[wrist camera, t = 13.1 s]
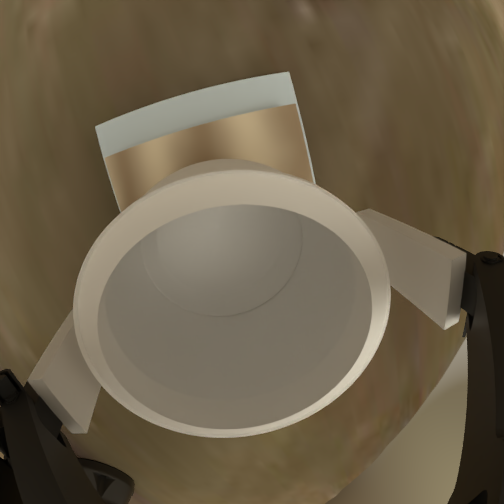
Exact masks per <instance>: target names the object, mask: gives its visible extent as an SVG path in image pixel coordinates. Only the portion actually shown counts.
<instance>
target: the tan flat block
mask: <svg viewBox="0 0 504 504" xmlns="http://www.w3.org/2000/svg"><path fill="white" fill-rule="evenodd" d="M215 159H241V160H248V161H253V162H257V163H261V164H264V165H267V166H270V167H272V168H275V169H277V170H279V171H281V172H283V173H287V174H290V175H293V176H296V177H299V178H302V179H304V180H307V181H309V182H312V183H314V182H313V177H312V173H311V168H310V163H309V158H308V154H307V149H306V145H305V141H304V136H303V132H302V128H301V124H300V119H299V115H298V111H297V107H296V104H290V105H284V106H279V107H274V108H269V109H264V110H259V111H254V112H250V113H245V114H241V115H236V116H232V117H228V118H224V119H220V120H216V121H213V122H209V123H205V124H202V125H198V126H195V127H191V128H188V129H184V130H181V131H178V132H175V133H172V134H168V135H165V136H162V137H159V138H156V139H153V140H150V141H148V142H145V143H142V144H139V145H136V146H134V147H131V148H128V149H126V150H123V151H120V152H118V153H115V154H113V155H110V156H108V157H105V162H106V165H107V169H108V172H109V176H110V179H111V182H112V185H113V189H114V192H115V195H116V198H117V201H118V204H119V207H120V210H121V212H123V211H124V210H125V209H126V208H127V207H128V206H130V205H131V204H132V203H133V202H135V201H136V200H138V199H139V198H141V197H142V196H144V195H145V194H146V193H147V192H148V191H149V190H150V189H151V188H152V187H153V186H155V185H156V184H157V183H158V182H160V181H161V180H163V179H164V178H165V177H167V176H169V175H170V174H172V173H174V172H176V171H178V170H180V169H182V168H184V167H187V166H190V165H192V164H196V163H199V162H203V161H208V160H215Z"/></svg>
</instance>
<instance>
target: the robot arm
mask: <svg viewBox="0 0 504 504" xmlns="http://www.w3.org/2000/svg"><path fill="white" fill-rule="evenodd" d="M356 213H357V215H358V216H359V217H360V218H361V219H362V220H363V221H364V223H365V224H366V225H367V226H368V228H369V229H370V231H371V232H372V233H373V235H374V237H375V238H376V240H377V242H378V244H379V246H380V248H381V250H382V253H383V255H384V258H385V261H386V264H387V268H388V273H389V279H390V285H391V286H392V287H393V288H395V289H396V290H397V291H398V292H400V293H401V294H402V295H403V296H405V297H406V298H407V299H408V300H409V301H411V302H412V303H413V304H414V305H415V306H417V307H418V308H419V309H420V310H421V311H423V312H424V313H425V314H426V315H427V316H428V317H430V318H431V319H432V320H433V321H434V322H436V323H437V324H438V325H439V326H440V327H441V328H442V329H444V330H445V329H447V328H449V327H450V326H452V325H454V324H455V323H457V322H459V316H460V309H461V308H462V309H464V310H465V311H466V312H467V317H466V322H465V327H464V332H463V337H465V335H466V333H467V350H468V394H467V412H466V424H465V433H464V441H463V449H462V455H461V461H460V467H459V473H458V477H457V482H456V486H455V489H454V492H453V493H452V495H451V497H450V499H449V502H448V504H504V256H502V255H500V254H499V253H496V252H490V251H484V252H480V253H477V254H476V255H474V254H472V253H470V252H468V251H466V250H464V249H462V248H460V247H458V246H455V245H454V244H452V243H450V242H449V243H448V241H446V240H444V239H441V238H439V237H434V236H431V235H428V234H426V233H424V232H422V231H420V230H418V229H415V228H413V227H411V226H409V225H407V224H404V223H402V222H400V221H397V220H395V219H393V218H391V217H388V216H386V215H383V214H381V213H379V212H376V211H374V210H371V209H367V210H363V211H359V212H356ZM100 388H101V384H100V383H99V382H98V381H97V379H96V378H95V376H94V375H93V373H92V372H91V370H90V369H89V367H88V365H87V363H86V361H85V359H84V357H83V355H82V353H81V350H80V347H79V345H78V341H77V338H76V333H75V328H74V320H73V309H72V310H71V312H70V313H69V315H68V316H67V318H66V319H65V320H64V322H63V323H62V325H61V326H60V328H59V329H58V331H57V332H56V334H55V336H54V337H53V339H52V340H51V342H50V343H49V345H48V347H47V348H46V350H45V351H44V353H43V355H42V356H41V358H40V359H39V361H38V363H37V364H36V366H35V368H34V370H33V371H32V373H31V375H30V376H29V378H28V380H27V382H26V384H25V386H24V388H23V386H22V385H21V384H20V382H19V381H18V380H17V378H16V377H15V375H14V374H13V373H12V371H11V370H10V369H5V370H2V371H0V405H1V407H0V451H1V452H2V453H3V454H4V459H2V458H1V457H0V504H128V503H129V501H130V498H131V496H132V495H133V493H134V485H135V484H134V481H133V480H132V479H131V478H130V477H129V476H127V475H126V474H124V473H123V472H121V471H119V470H117V469H115V468H113V467H110V466H108V465H105V464H102V463H99V462H95V461H91V460H86V459H77V457H76V455H75V454H74V452H73V450H72V448H71V446H70V444H69V442H68V440H67V438H66V436H65V435H64V434H63V433H62V432H61V431H60V429H61V426H62V424H63V425H64V426H65V427H66V428H67V429H68V430H69V431H70V432H71V433H72V434H76V433H87V432H88V428H89V424H90V421H91V418H92V414H93V411H94V407H95V404H96V401H97V398H98V395H99V391H100Z"/></svg>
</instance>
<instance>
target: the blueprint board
mask: <svg viewBox="0 0 504 504" xmlns="http://www.w3.org/2000/svg"><path fill="white" fill-rule="evenodd" d="M290 104H296V107H297V111H298V115H299V119H300V124H301V128H302V132H303V136H304V141H305V145H306V149H307V154H308V158H309V163H310V168H311V173H312V177H313V182H314V184H316V183H315V178H314V173H313V168H312V163H311V159H310V154H309V150H308V145H307V141H306V136H305V132H304V128H303V124H302V119H301V115H300V111H299V107H298V103H297V100H296V96H295V92H294V88H293V84H292V81H291V77H290V74H289V72H283V73H277V74H271V75H265V76H259V77H254V78H248V79H243V80H239V81H234V82H229V83H225V84H221V85H217V86H212V87H208V88H205V89H201V90H197V91H193V92H190V93H186V94H183V95H180V96H176V97H173V98H170V99H167V100H163V101H160V102H157V103H154V104H151V105H149V106H146V107H143V108H140V109H137V110H135V111H132V112H129V113H127V114H124V115H122V116H119V117H117V118H114V119H112V120H109V121H107V122H104V123H102V124H100V125H97V126H95V128H96V132H97V136H98V140H99V144H100V148H101V151H102V155H103V159H104V162H105V157H108V156H110V155H113V154H115V153H118V152H120V151H123V150H126V149H128V148H131V147H134V146H136V145H139V144H142V143H145V142H148V141H150V140H153V139H156V138H159V137H162V136H165V135H168V134H172V133H175V132H178V131H181V130H184V129H188V128H191V127H195V126H198V125H202V124H205V123H209V122H213V121H216V120H220V119H224V118H228V117H232V116H236V115H241V114H245V113H250V112H254V111H259V110H264V109H269V108H274V107H279V106H284V105H290ZM105 166H106V169H107V165H106V162H105ZM107 172H108V169H107ZM108 176H109V172H108ZM109 179H110V176H109ZM110 182H111V179H110ZM111 186H112V189H113V185H112V182H111ZM113 192H114V189H113ZM114 195H115V192H114ZM115 198H116V195H115ZM116 201H117V198H116ZM117 204H118V201H117ZM118 207H119V204H118ZM119 210H120V207H119ZM120 213H121V210H120Z"/></svg>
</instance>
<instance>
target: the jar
mask: <svg viewBox="0 0 504 504" xmlns="http://www.w3.org/2000/svg"><path fill="white" fill-rule="evenodd" d="M390 299H391V290H390V279H389V273H388V268H387V264H386V261H385V258H384V255H383V253H382V250H381V248H380V246H379V244H378V242H377V240H376V238H375V237H374V235H373V233H372V232H371V231H370V229H369V228H368V226H367V225H366V224H365V223H364V221H363V220H362V219H361V218H360V217H359V216H358V215H357V214H356V213H355V212H354V211H353V210H352V209H351V208H350V207H349V206H347V205H346V204H345V203H344V202H342V201H341V200H340V199H338V198H337V197H336V196H334V195H333V194H331V193H330V192H328V191H326V190H325V189H323V188H321V187H320V186H318V185H316V184H314V183H312V182H309V181H307V180H304V179H302V178H299V177H296V176H293V175H290V174H287V173H283V172H281V171H279V170H277V169H275V168H272V167H270V166H267V165H264V164H261V163H257V162H253V161H248V160H241V159H215V160H208V161H203V162H199V163H196V164H192V165H190V166H187V167H184V168H182V169H180V170H178V171H176V172H174V173H172V174H170V175H169V176H167V177H165V178H164V179H163V180H161V181H160V182H158V183H157V184H156V185H155V186H153V187H152V188H151V189H150V190H149V191H148V192H147V193H146V194H145V195H144V196H142V197H141V198H139V199H138V200H136V201H135V202H133V203H132V204H131V205H130V206H128V207H127V208H126V209H125V210H124V211H123V212H121V213H120V214H119V215H118V216H117V217H116V218H115V219H114V220H113V221H112V222H111V223H110V224H109V225H108V226H107V227H106V228H105V229H104V230H103V232H102V233H101V234H100V235H99V237H98V238H97V239H96V241H95V242H94V244H93V245H92V247H91V249H90V250H89V252H88V254H87V256H86V258H85V260H84V262H83V264H82V267H81V269H80V272H79V275H78V278H77V282H76V287H75V292H74V300H73V320H74V328H75V333H76V338H77V341H78V345H79V347H80V350H81V353H82V355H83V357H84V359H85V361H86V363H87V365H88V367H89V369H90V370H91V372H92V373H93V375H94V376H95V378H96V379H97V381H98V382H99V383H100V384H101V385H102V387H103V388H104V389H105V390H106V391H107V392H108V393H109V394H110V395H111V396H112V397H113V398H114V399H115V400H117V401H118V402H119V403H120V404H121V405H123V406H124V407H125V408H127V409H128V410H130V411H131V412H133V413H134V414H136V415H138V416H139V417H141V418H143V419H145V420H147V421H149V422H151V423H153V424H156V425H158V426H161V427H163V428H166V429H169V430H173V431H176V432H180V433H184V434H189V435H195V436H202V437H214V438H231V437H244V436H251V435H257V434H262V433H266V432H270V431H274V430H277V429H280V428H283V427H286V426H289V425H291V424H294V423H296V422H298V421H301V420H303V419H305V418H307V417H309V416H311V415H312V414H314V413H316V412H318V411H319V410H321V409H322V408H324V407H325V406H327V405H328V404H330V403H331V402H332V401H334V400H335V399H336V398H338V397H339V396H340V395H341V394H342V393H343V392H344V391H346V390H347V389H348V388H349V387H350V386H351V385H352V384H353V383H354V381H355V380H356V379H357V378H358V377H359V376H360V375H361V373H362V372H363V371H364V369H365V368H366V367H367V365H368V364H369V362H370V361H371V359H372V357H373V356H374V354H375V352H376V350H377V348H378V346H379V344H380V342H381V339H382V337H383V334H384V331H385V328H386V325H387V321H388V316H389V310H390Z"/></svg>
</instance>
